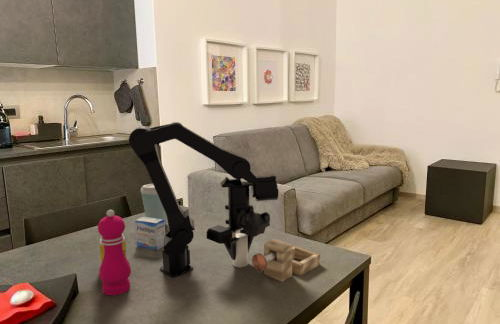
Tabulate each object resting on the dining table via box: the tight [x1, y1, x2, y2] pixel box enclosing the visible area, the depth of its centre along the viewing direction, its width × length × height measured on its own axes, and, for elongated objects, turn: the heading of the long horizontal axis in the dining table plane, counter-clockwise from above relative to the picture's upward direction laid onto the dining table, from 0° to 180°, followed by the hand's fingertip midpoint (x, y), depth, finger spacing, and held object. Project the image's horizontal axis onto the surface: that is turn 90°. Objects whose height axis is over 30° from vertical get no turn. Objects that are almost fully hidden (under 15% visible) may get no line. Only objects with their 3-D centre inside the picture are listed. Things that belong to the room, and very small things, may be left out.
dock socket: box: [263, 238, 321, 283], centre depth 103 cm, size 14×9×8 cm, turn 136°
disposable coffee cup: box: [140, 183, 168, 226], centre depth 137 cm, size 11×11×15 cm
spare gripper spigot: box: [231, 232, 249, 268], centre depth 106 cm, size 4×4×8 cm
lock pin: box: [251, 251, 277, 272], centre depth 96 cm, size 8×4×4 cm, turn 136°
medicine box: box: [134, 216, 166, 251], centre depth 119 cm, size 8×4×9 cm, turn 68°
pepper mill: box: [97, 209, 132, 296], centre depth 92 cm, size 7×7×20 cm
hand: (239, 256), depth 106 cm, fingers closed on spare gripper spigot, 4 cm apart
